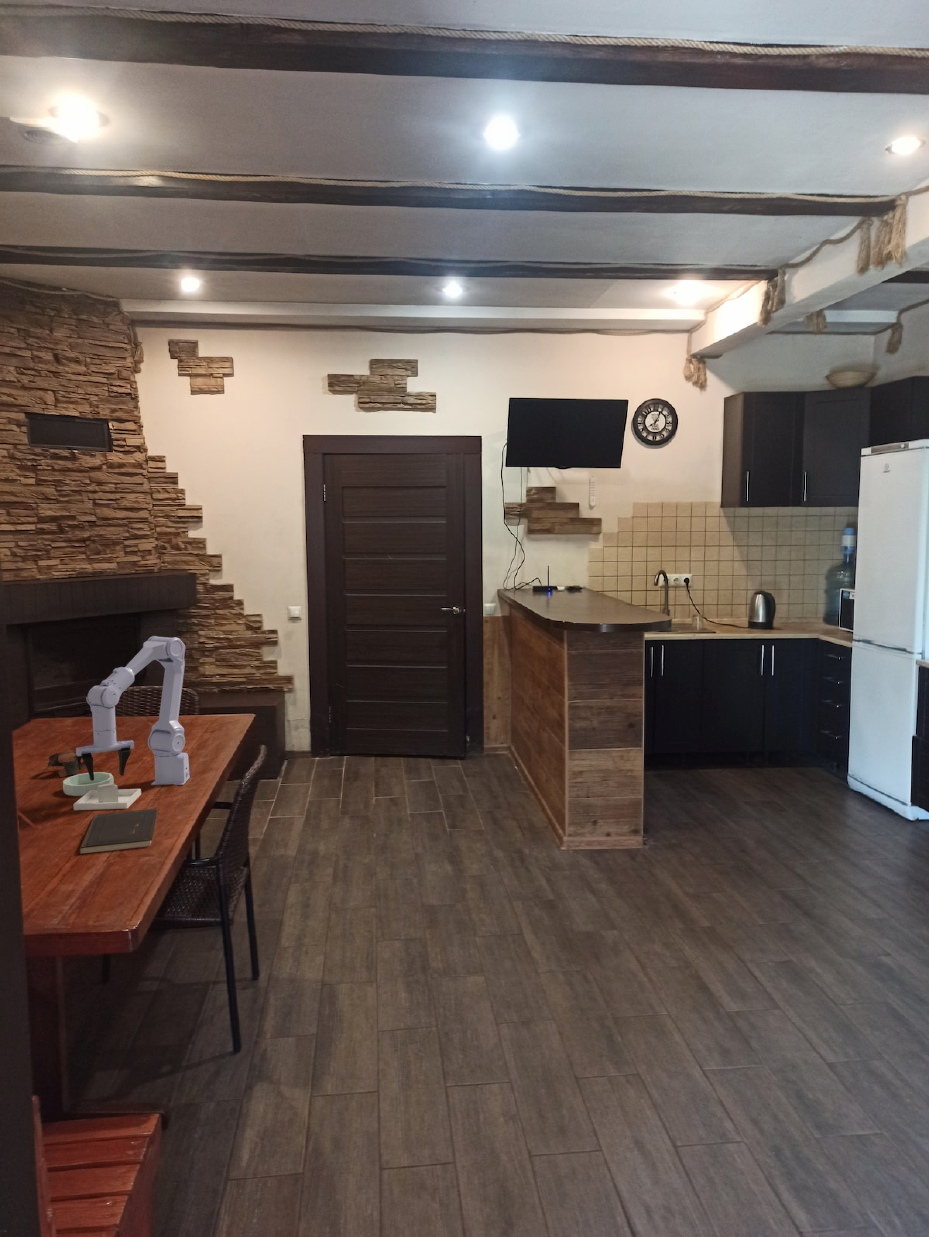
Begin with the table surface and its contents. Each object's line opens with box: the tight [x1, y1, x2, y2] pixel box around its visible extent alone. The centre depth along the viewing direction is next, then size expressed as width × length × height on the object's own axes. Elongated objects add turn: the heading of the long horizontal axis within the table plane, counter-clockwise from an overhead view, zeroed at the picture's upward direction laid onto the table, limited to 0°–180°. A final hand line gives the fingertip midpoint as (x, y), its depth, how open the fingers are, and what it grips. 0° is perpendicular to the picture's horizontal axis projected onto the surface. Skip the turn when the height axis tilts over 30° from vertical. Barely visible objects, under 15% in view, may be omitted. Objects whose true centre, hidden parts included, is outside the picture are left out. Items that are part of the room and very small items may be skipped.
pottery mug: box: [47, 749, 86, 778], centre depth 255 cm, size 12×10×8 cm
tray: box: [73, 788, 142, 811], centre depth 225 cm, size 14×12×2 cm
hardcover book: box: [78, 808, 159, 855], centre depth 203 cm, size 16×23×2 cm
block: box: [98, 783, 119, 803], centre depth 225 cm, size 4×4×5 cm
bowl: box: [62, 771, 115, 797], centre depth 237 cm, size 13×13×4 cm
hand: (106, 777), depth 224 cm, fingers open, 7 cm apart
